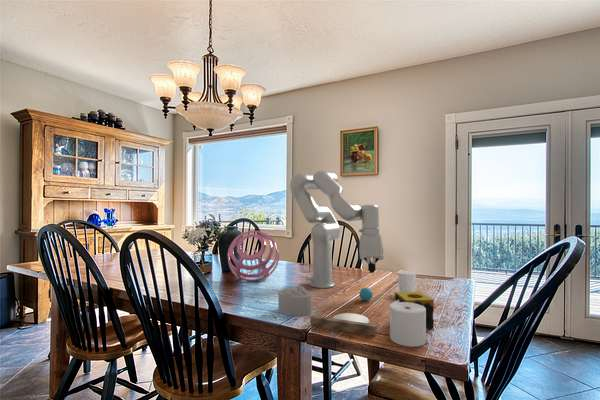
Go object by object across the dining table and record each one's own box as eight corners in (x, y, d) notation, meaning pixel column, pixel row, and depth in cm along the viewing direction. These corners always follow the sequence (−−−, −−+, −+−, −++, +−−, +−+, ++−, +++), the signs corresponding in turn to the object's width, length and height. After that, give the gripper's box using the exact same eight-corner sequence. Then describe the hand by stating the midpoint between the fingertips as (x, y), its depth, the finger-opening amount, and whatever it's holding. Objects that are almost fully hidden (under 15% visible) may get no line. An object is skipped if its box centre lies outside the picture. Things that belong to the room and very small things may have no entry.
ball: (358, 301, 140) (358, 288, 140) (361, 298, 145) (361, 285, 145) (371, 303, 138) (371, 290, 138) (373, 299, 143) (373, 286, 143)
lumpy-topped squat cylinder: (292, 304, 137) (292, 283, 137) (317, 311, 128) (317, 289, 128) (274, 311, 129) (274, 288, 129) (299, 318, 120) (299, 294, 120)
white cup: (417, 297, 146) (417, 274, 146) (398, 296, 148) (398, 273, 148) (414, 292, 154) (414, 270, 154) (397, 291, 155) (397, 270, 155)
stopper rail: (310, 326, 113) (310, 317, 113) (312, 324, 115) (312, 315, 115) (375, 336, 104) (375, 326, 104) (376, 334, 106) (376, 324, 106)
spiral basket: (242, 239, 202) (235, 216, 180) (285, 250, 198) (285, 228, 176) (224, 281, 187) (214, 262, 164) (270, 295, 183) (268, 277, 161)
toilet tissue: (412, 350, 94) (411, 315, 94) (379, 336, 104) (379, 304, 104) (433, 341, 100) (433, 308, 100) (400, 328, 110) (400, 298, 110)
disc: (327, 323, 115) (327, 322, 115) (338, 311, 127) (338, 311, 127) (364, 329, 110) (364, 328, 110) (372, 316, 122) (372, 316, 122)
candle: (393, 319, 119) (393, 291, 119) (420, 318, 120) (420, 291, 120) (405, 330, 109) (404, 300, 109) (434, 329, 110) (434, 299, 110)
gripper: (352, 232, 149) (353, 273, 149) (386, 232, 143) (387, 274, 143) (356, 231, 156) (357, 270, 156) (388, 231, 150) (390, 271, 150)
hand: (372, 272), depth 149 cm, fingers closed
